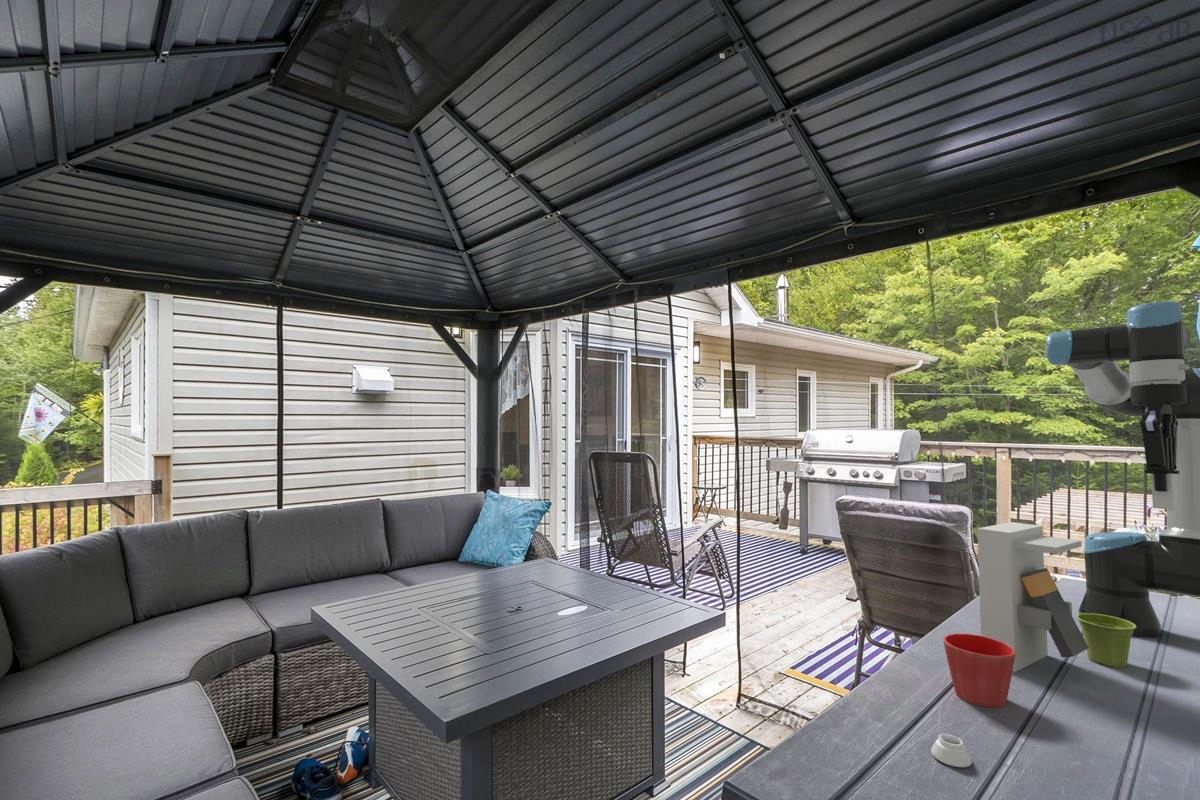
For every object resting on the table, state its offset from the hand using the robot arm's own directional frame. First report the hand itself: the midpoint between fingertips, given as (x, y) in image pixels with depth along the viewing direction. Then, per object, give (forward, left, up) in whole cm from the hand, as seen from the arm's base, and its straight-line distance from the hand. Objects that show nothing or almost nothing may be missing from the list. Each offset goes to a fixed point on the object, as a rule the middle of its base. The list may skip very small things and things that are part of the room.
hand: (1163, 508), depth 104 cm
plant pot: (-6, -14, -35) cm, 38 cm away
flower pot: (+35, -10, -35) cm, 50 cm away
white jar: (+57, +3, -35) cm, 67 cm away
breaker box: (+10, -18, -34) cm, 40 cm away
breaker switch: (+8, -11, -30) cm, 33 cm away
